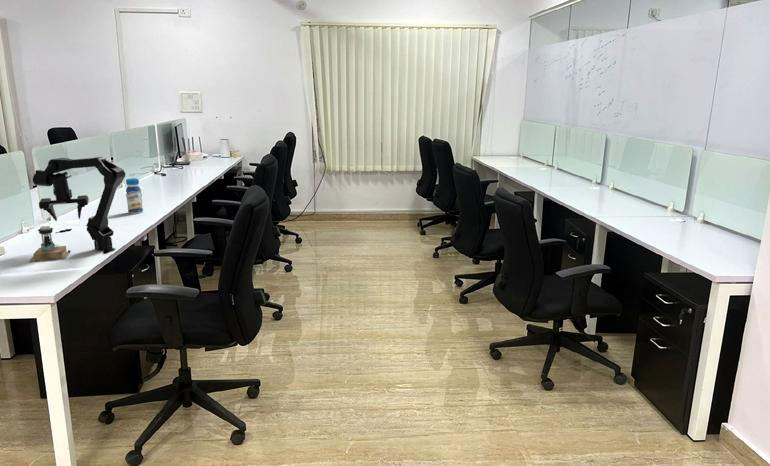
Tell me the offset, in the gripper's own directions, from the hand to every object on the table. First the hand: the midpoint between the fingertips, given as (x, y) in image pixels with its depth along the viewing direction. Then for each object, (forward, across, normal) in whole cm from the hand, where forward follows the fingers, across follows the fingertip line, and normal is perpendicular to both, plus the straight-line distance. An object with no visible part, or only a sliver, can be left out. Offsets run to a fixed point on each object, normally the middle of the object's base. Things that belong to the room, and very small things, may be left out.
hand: (68, 219), depth 246 cm
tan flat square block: (+9, +6, +18) cm, 21 cm away
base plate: (+10, +6, +18) cm, 21 cm away
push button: (+6, +6, +17) cm, 19 cm away
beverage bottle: (+28, -22, -71) cm, 80 cm away
